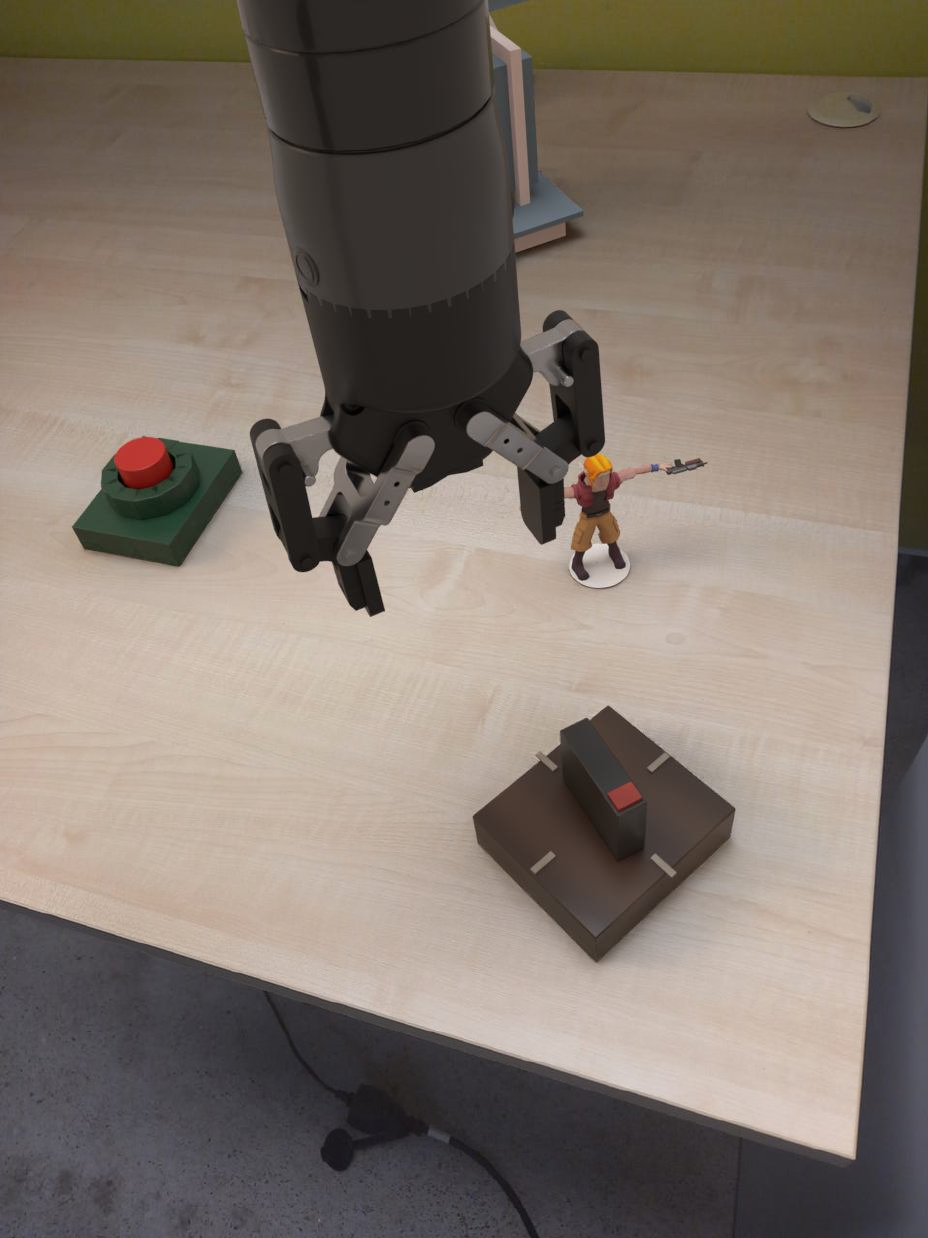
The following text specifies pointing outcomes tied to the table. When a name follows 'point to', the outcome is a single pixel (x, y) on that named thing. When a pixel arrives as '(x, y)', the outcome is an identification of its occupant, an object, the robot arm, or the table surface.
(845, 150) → the table surface
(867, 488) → the table surface
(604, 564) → the action figure
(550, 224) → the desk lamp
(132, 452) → the button
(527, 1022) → the table surface
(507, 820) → the panel
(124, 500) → the button box
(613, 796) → the knob
